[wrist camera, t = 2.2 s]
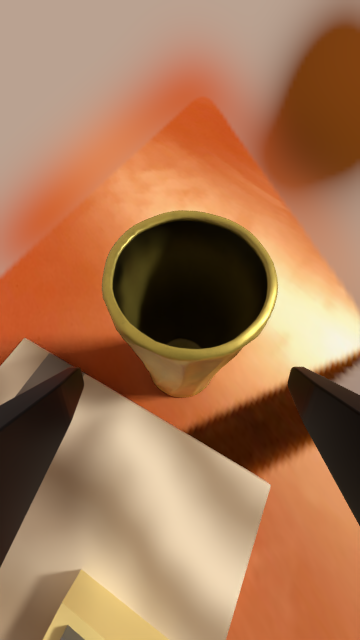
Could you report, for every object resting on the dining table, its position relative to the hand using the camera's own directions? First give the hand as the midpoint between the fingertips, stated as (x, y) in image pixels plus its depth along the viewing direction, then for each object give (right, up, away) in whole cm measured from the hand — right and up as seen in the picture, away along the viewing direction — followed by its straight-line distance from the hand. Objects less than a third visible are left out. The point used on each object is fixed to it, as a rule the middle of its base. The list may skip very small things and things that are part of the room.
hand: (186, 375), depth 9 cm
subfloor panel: (-8, -11, +7) cm, 15 cm away
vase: (0, -2, +11) cm, 11 cm away
